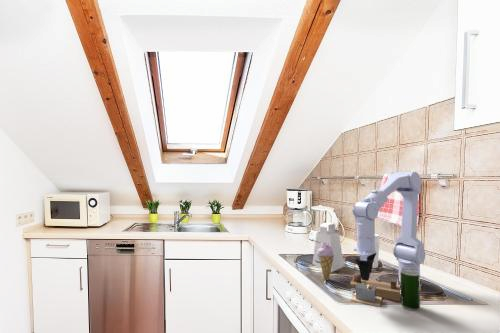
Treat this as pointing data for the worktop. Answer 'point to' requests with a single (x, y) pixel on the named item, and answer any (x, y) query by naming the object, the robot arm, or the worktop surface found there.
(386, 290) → the body
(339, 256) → the grater
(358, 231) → the robot arm
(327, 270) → the ice cream cone
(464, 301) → the worktop surface
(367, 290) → the grey block with knob
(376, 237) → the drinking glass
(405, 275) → the beer can
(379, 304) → the cork trivet
